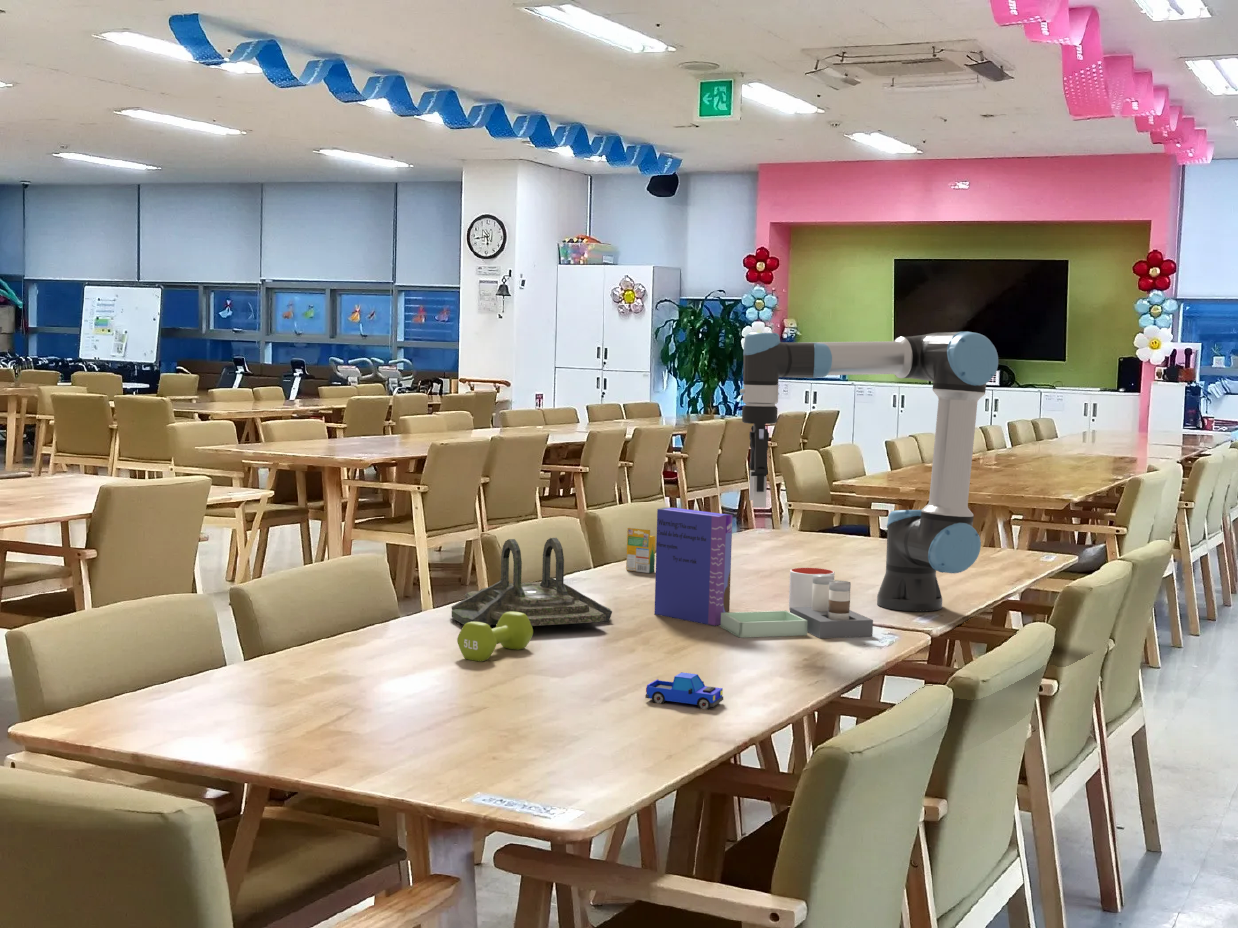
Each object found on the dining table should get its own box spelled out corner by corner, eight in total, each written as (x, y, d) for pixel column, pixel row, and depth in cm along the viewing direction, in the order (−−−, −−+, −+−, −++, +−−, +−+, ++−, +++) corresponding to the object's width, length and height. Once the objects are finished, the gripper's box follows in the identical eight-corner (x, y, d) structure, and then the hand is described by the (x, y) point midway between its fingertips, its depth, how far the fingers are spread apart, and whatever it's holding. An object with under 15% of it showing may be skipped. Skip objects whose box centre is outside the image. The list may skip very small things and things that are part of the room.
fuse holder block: (839, 621, 305) (841, 572, 305) (872, 636, 290) (874, 584, 289) (789, 623, 302) (791, 573, 301) (819, 638, 287) (821, 585, 286)
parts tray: (786, 624, 300) (786, 610, 300) (807, 635, 290) (807, 620, 289) (720, 626, 296) (720, 612, 296) (739, 637, 285) (739, 622, 285)
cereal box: (729, 623, 300) (732, 514, 298) (715, 626, 297) (718, 515, 295) (668, 611, 312) (671, 506, 310) (654, 614, 308) (657, 507, 306)
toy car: (711, 713, 226) (712, 683, 226) (643, 704, 231) (644, 675, 230) (724, 704, 232) (725, 675, 232) (657, 695, 237) (658, 667, 236)
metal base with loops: (433, 610, 309) (434, 530, 307) (573, 603, 322) (575, 526, 321) (481, 641, 277) (482, 552, 275) (634, 632, 290) (637, 547, 289)
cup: (831, 620, 307) (833, 575, 307) (786, 617, 309) (788, 573, 309) (833, 611, 317) (835, 568, 316) (790, 609, 319) (791, 566, 318)
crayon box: (654, 572, 368) (656, 529, 367) (649, 573, 365) (650, 530, 365) (631, 569, 372) (632, 526, 371) (625, 570, 369) (626, 527, 368)
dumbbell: (487, 664, 256) (487, 626, 255) (452, 659, 260) (453, 621, 259) (536, 649, 270) (537, 613, 269) (503, 644, 274) (503, 608, 273)
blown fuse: (843, 631, 295) (845, 580, 294) (852, 635, 291) (854, 583, 290) (824, 631, 294) (826, 580, 293) (832, 635, 290) (834, 584, 289)
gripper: (739, 402, 308) (737, 496, 309) (745, 407, 283) (742, 509, 285) (773, 403, 307) (770, 497, 309) (782, 407, 283) (779, 510, 284)
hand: (757, 503), depth 297 cm, fingers open, 13 cm apart
